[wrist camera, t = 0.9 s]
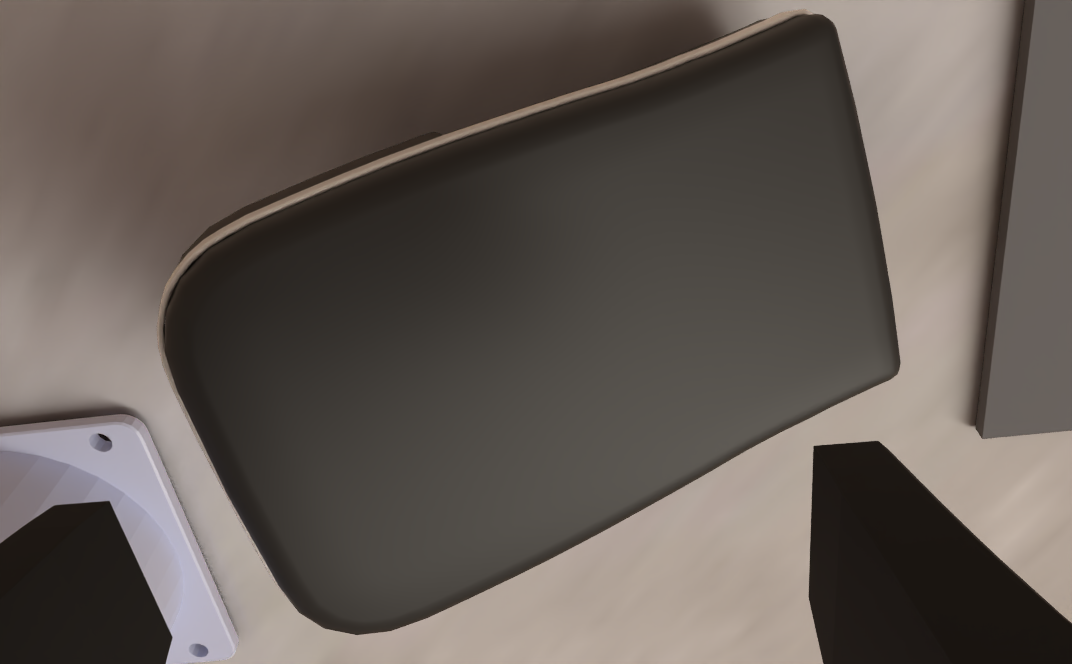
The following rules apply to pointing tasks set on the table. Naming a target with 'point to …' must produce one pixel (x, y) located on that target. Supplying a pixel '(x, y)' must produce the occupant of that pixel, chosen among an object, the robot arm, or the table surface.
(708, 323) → the battery charger
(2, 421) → the table surface
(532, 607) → the table surface
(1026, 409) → the mat
